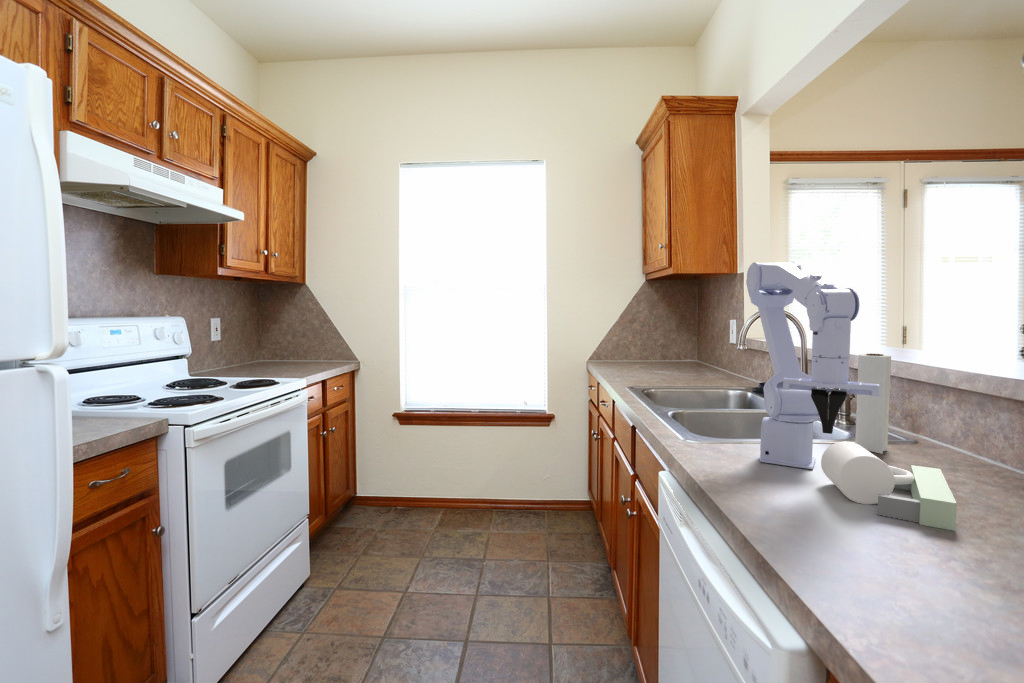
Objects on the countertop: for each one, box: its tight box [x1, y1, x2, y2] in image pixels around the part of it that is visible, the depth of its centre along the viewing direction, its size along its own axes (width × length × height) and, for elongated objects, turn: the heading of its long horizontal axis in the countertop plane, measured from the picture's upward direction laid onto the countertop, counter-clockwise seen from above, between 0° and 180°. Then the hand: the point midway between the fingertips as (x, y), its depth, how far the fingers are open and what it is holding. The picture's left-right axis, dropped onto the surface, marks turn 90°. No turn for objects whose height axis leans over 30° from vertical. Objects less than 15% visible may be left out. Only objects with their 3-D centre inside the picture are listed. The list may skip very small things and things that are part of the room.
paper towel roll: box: [854, 353, 892, 455], centre depth 115 cm, size 7×6×21 cm
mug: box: [820, 440, 915, 505], centre depth 87 cm, size 12×10×8 cm
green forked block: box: [877, 464, 958, 532], centre depth 83 cm, size 9×19×4 cm, turn 146°
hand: (827, 432), depth 93 cm, fingers closed
